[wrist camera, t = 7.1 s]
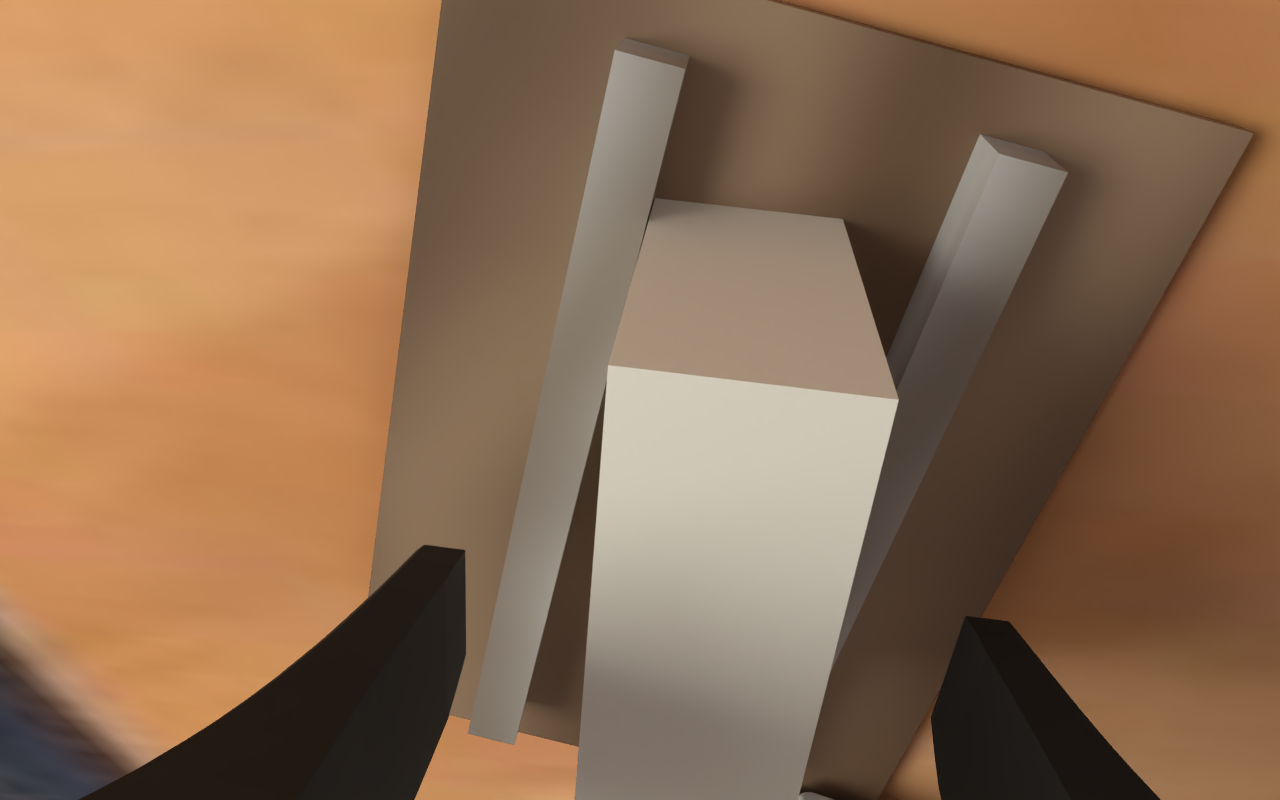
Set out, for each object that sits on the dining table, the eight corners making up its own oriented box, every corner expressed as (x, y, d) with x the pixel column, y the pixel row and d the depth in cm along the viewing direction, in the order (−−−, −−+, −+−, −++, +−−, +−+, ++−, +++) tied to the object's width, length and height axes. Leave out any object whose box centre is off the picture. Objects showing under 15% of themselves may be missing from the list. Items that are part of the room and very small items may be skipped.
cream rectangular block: (842, 218, 15) (898, 399, 9) (759, 641, 19) (766, 924, 14) (655, 198, 15) (608, 365, 10) (614, 622, 19) (566, 896, 14)
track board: (1241, 127, 14) (1296, 154, 13) (865, 802, 22) (873, 866, 20) (460, -87, 14) (427, -84, 12) (363, 679, 21) (336, 734, 20)
